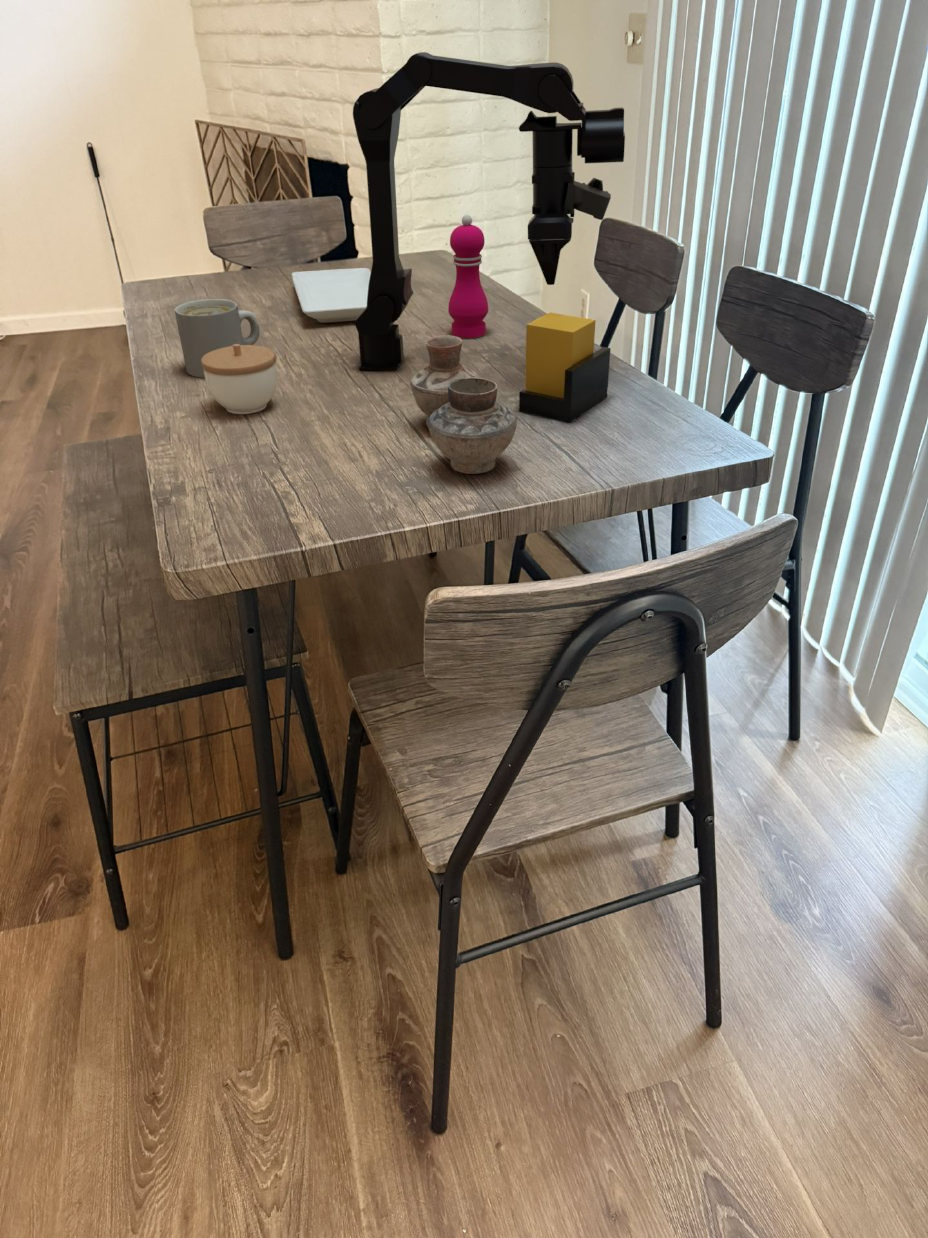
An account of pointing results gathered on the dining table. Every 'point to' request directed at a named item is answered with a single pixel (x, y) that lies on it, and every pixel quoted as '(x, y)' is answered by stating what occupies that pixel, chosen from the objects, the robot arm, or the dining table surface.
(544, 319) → the storage box
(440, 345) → the pottery
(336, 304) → the tray
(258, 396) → the trinket box
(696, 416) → the dining table surface
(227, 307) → the coffee mug
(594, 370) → the rack
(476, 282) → the pepper mill
